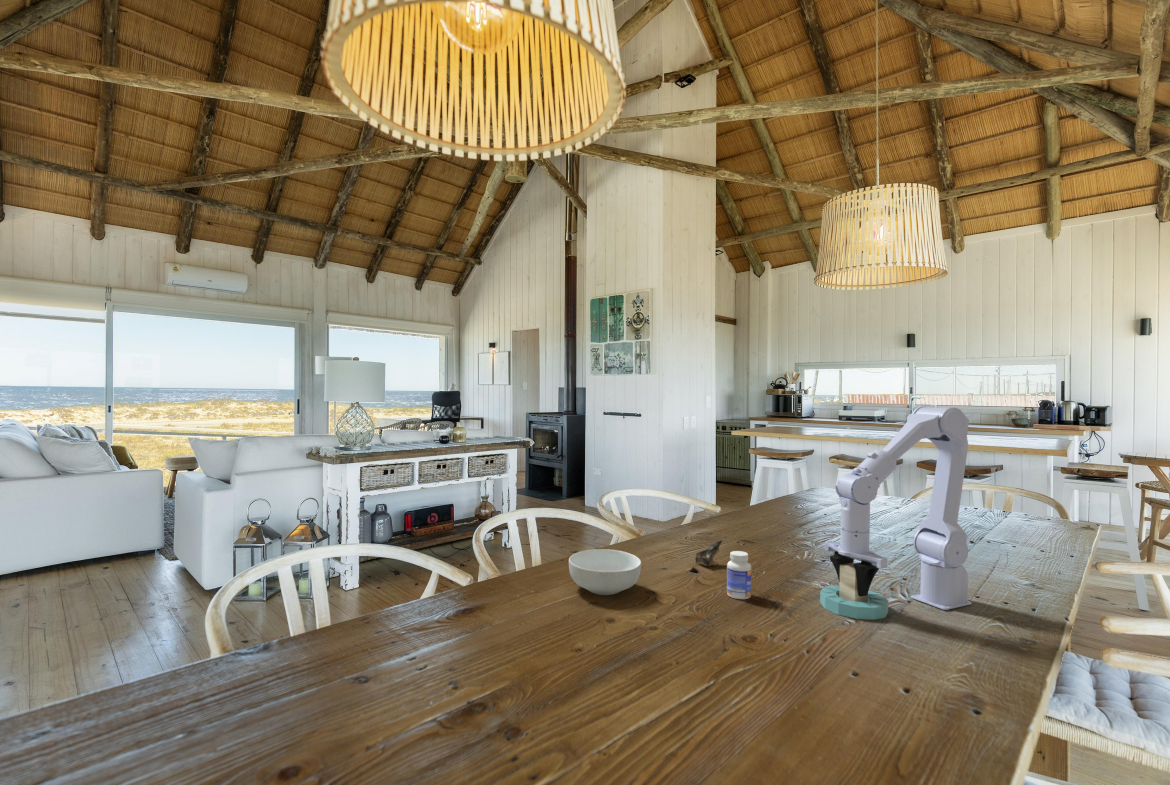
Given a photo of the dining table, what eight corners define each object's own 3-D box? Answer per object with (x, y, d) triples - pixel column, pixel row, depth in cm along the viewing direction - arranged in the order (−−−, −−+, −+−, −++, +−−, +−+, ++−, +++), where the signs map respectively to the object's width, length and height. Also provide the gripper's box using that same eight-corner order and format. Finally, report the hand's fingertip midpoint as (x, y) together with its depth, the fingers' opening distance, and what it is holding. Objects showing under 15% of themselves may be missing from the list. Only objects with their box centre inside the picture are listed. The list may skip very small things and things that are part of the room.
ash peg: (852, 598, 125) (852, 562, 125) (867, 604, 121) (868, 568, 121) (839, 601, 123) (839, 564, 123) (854, 607, 120) (855, 570, 120)
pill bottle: (752, 601, 125) (752, 557, 125) (727, 598, 126) (727, 555, 126) (749, 592, 130) (750, 550, 130) (726, 590, 132) (726, 549, 132)
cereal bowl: (556, 595, 126) (557, 564, 126) (583, 573, 142) (584, 545, 142) (628, 607, 120) (628, 574, 120) (648, 583, 136) (649, 554, 136)
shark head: (715, 564, 155) (715, 539, 156) (729, 567, 149) (729, 541, 150) (690, 564, 152) (690, 539, 153) (704, 567, 146) (704, 540, 147)
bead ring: (849, 593, 131) (850, 582, 131) (901, 614, 119) (901, 602, 119) (808, 601, 126) (808, 589, 126) (857, 623, 114) (857, 611, 114)
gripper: (815, 523, 127) (814, 583, 127) (871, 539, 114) (869, 606, 114) (837, 521, 130) (836, 579, 130) (894, 536, 117) (893, 601, 117)
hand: (853, 591), depth 122 cm, fingers closed on ash peg, 4 cm apart
